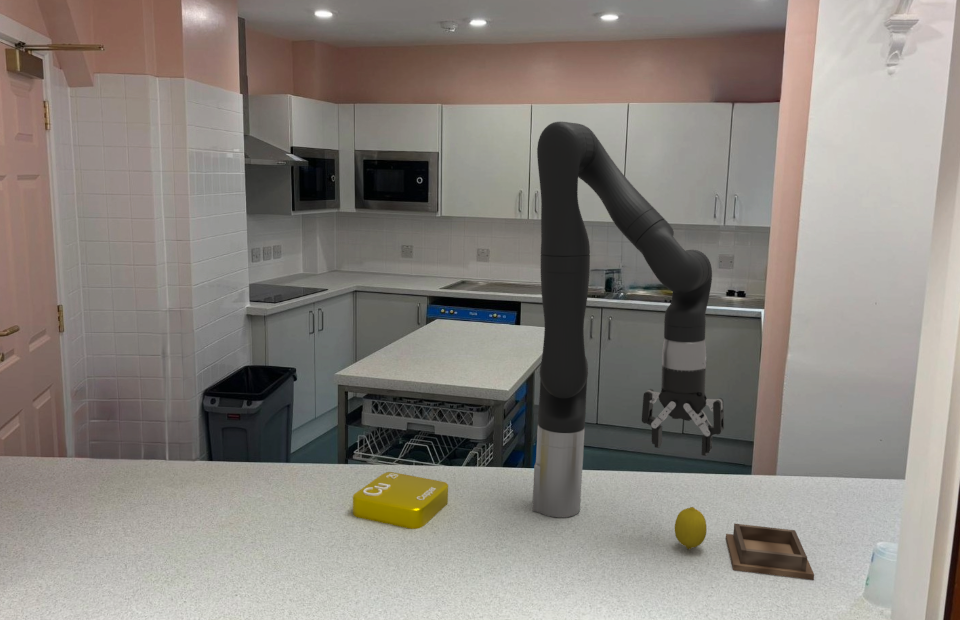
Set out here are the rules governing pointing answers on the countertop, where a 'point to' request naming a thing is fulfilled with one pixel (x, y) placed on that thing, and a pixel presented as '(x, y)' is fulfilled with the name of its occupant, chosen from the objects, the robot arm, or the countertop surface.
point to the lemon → (690, 527)
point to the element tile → (400, 500)
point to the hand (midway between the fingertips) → (681, 450)
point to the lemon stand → (768, 551)
